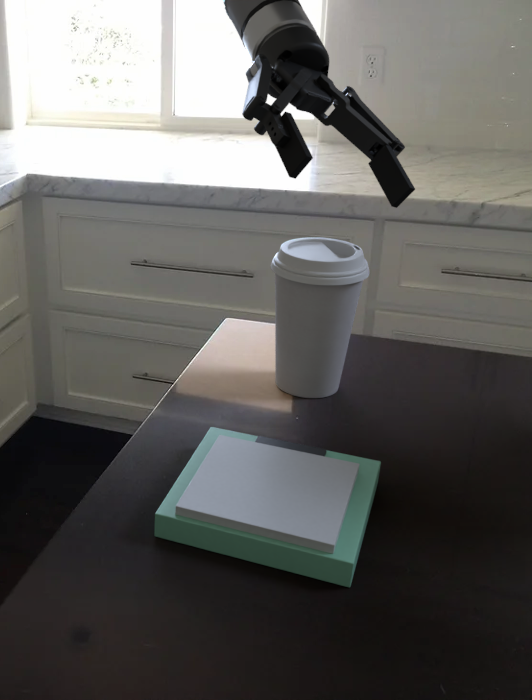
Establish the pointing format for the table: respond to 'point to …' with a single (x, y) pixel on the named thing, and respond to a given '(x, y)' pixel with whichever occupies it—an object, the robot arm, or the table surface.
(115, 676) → the table surface
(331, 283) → the coffee cup
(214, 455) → the kitchen scale
